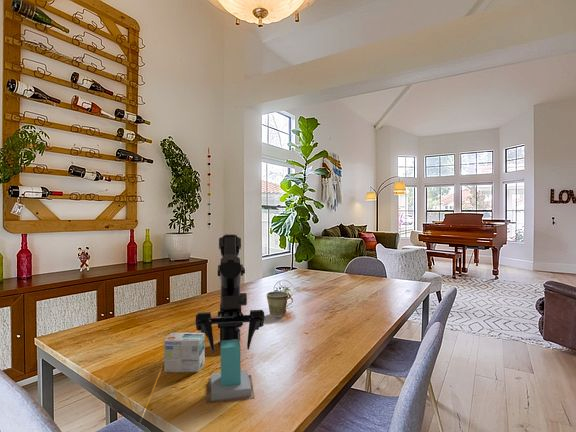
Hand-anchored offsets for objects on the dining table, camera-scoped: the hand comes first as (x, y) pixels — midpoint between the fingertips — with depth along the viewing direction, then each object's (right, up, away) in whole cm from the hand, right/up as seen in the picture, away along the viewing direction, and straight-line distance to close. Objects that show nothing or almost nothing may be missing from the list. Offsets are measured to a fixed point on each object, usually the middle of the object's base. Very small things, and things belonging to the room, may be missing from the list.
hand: (230, 350), depth 87 cm
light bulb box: (-16, -12, +13) cm, 24 cm away
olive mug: (+11, -11, +66) cm, 67 cm away
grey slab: (0, -11, +2) cm, 11 cm away
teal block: (0, -9, +2) cm, 9 cm away
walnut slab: (0, -13, +2) cm, 13 cm away
